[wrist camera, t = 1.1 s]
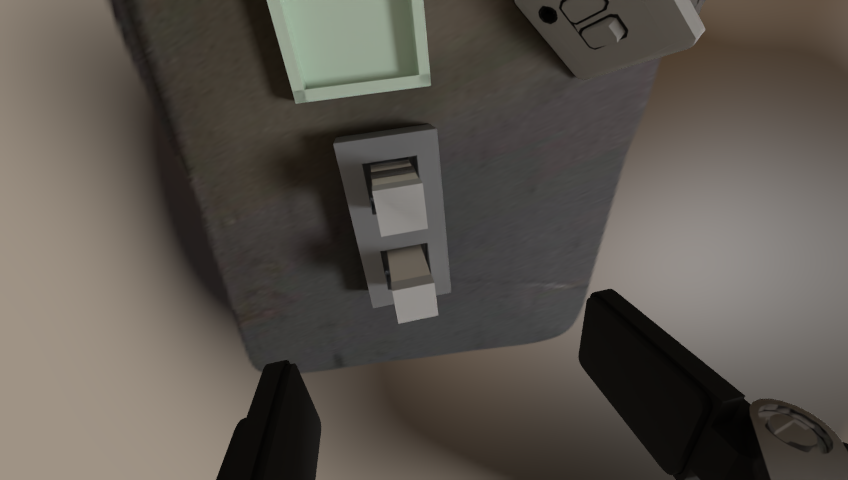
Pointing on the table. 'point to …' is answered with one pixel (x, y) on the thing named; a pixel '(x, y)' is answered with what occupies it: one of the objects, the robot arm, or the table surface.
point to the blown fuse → (398, 197)
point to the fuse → (411, 284)
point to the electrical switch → (614, 30)
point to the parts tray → (351, 46)
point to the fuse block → (357, 185)
